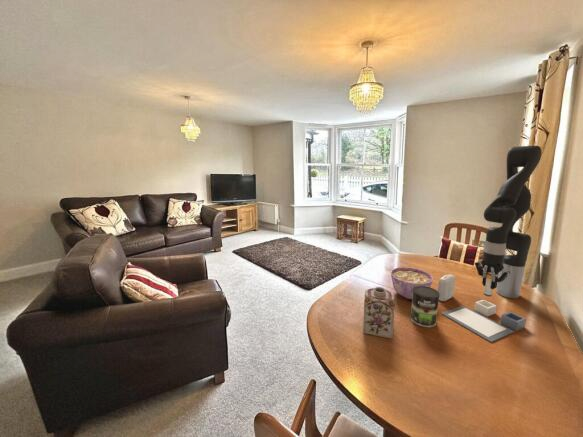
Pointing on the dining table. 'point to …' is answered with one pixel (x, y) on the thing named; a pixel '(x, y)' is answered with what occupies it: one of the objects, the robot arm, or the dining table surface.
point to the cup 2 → (513, 321)
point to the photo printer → (446, 287)
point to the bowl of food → (409, 280)
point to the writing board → (478, 323)
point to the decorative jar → (379, 312)
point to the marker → (488, 285)
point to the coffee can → (424, 306)
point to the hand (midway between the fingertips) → (488, 286)
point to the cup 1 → (485, 307)
